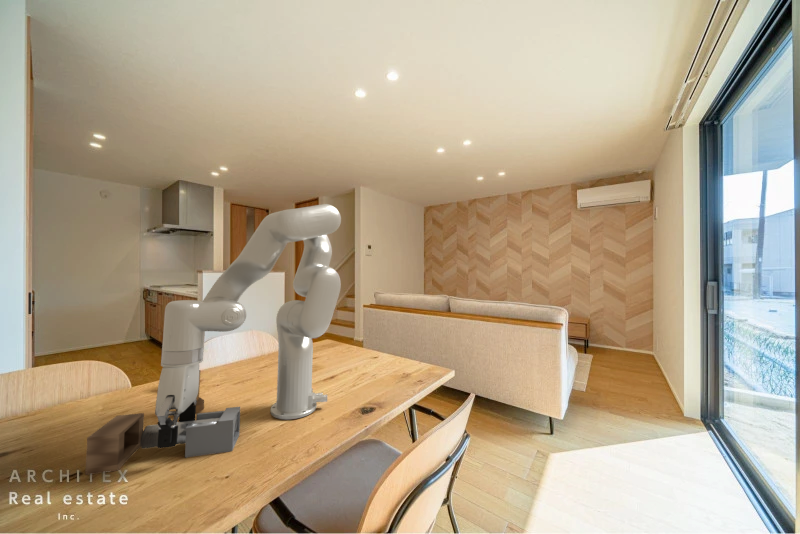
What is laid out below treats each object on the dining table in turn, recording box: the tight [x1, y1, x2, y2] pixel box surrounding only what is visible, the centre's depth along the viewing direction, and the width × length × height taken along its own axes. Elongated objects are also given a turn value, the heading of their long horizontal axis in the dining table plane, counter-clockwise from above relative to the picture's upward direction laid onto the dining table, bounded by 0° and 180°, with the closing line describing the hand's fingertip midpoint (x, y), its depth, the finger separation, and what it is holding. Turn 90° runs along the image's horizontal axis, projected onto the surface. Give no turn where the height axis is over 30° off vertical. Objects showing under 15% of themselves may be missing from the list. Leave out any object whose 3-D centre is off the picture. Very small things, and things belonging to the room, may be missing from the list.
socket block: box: [85, 412, 145, 476], centre depth 61 cm, size 5×9×7 cm, turn 17°
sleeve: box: [184, 406, 241, 458], centre depth 67 cm, size 9×7×7 cm
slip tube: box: [140, 416, 237, 450], centre depth 65 cm, size 17×5×5 cm, turn 107°
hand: (177, 434), depth 64 cm, fingers open, 9 cm apart
